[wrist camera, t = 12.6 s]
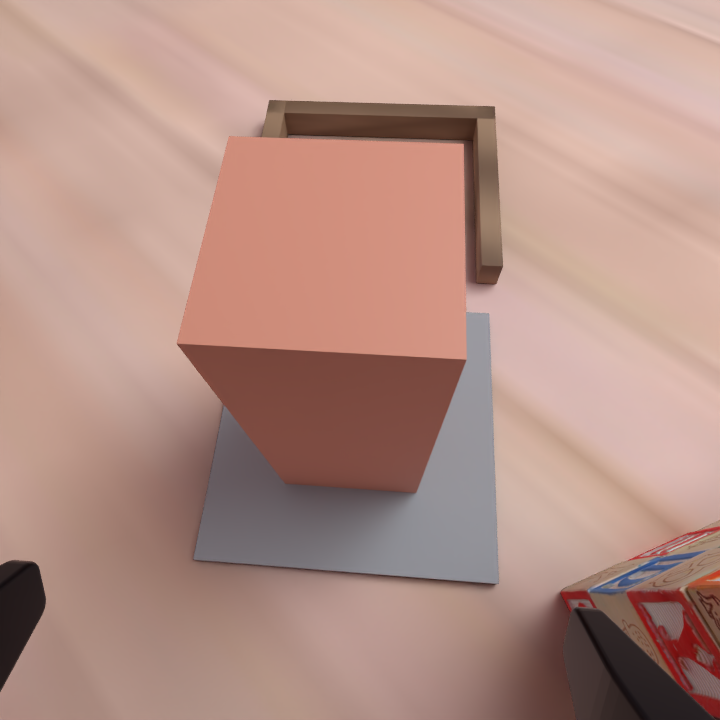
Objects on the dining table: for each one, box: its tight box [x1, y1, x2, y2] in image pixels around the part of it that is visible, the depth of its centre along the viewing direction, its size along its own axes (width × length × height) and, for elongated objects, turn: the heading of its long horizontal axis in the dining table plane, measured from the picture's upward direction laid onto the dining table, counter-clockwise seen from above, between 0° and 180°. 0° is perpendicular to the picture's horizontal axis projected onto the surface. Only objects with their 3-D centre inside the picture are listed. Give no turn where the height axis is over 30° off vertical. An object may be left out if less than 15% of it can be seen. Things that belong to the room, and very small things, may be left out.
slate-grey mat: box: [193, 312, 499, 584], centre depth 23 cm, size 12×12×1 cm
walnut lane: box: [262, 100, 503, 284], centre depth 28 cm, size 11×13×2 cm
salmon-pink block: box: [177, 136, 467, 493], centre depth 17 cm, size 6×6×13 cm
